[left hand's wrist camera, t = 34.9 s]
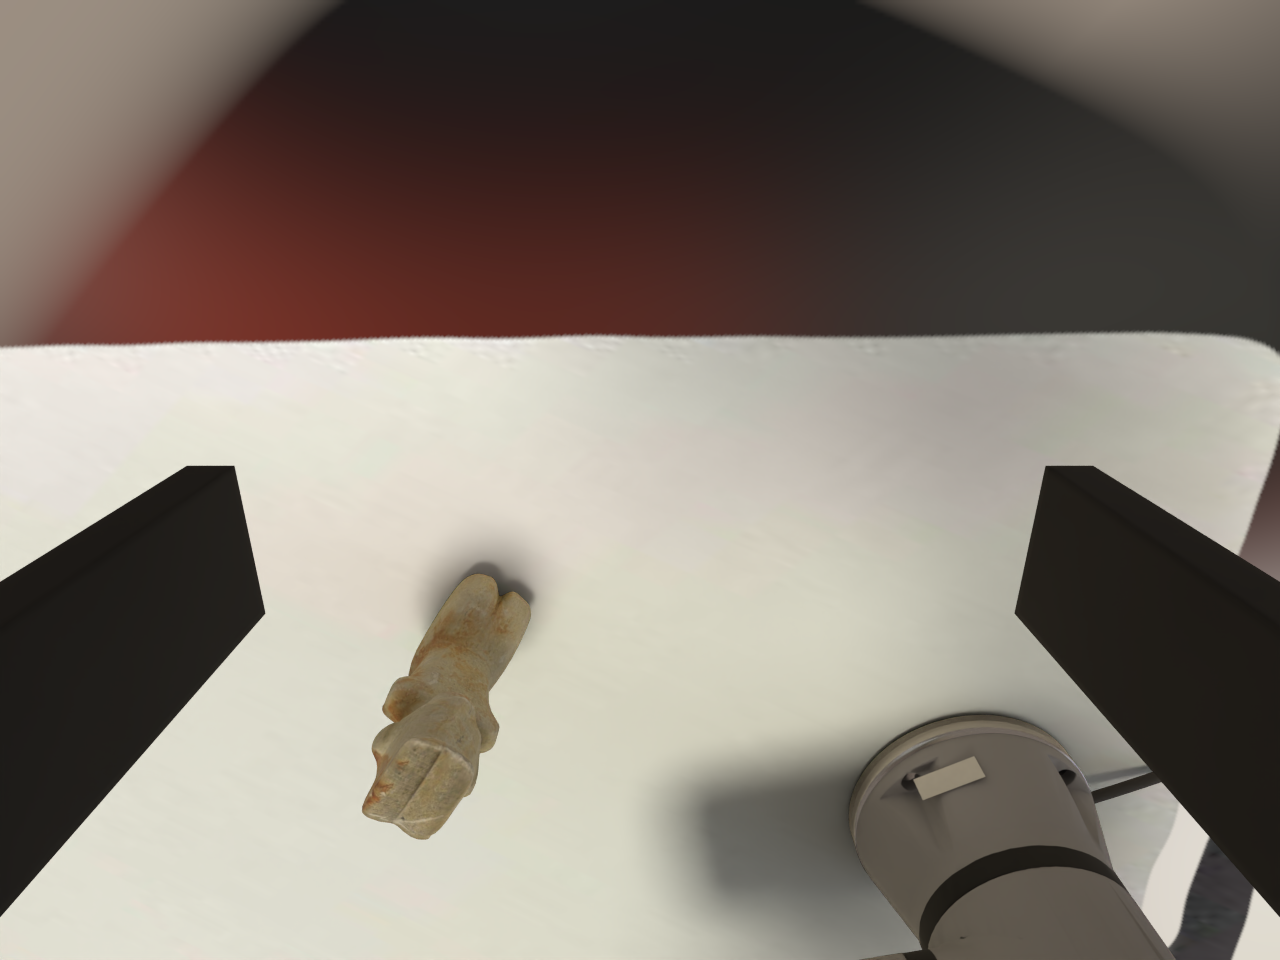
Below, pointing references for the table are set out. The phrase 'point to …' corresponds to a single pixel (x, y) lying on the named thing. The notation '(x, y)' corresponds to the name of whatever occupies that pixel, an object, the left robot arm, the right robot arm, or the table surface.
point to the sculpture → (445, 709)
